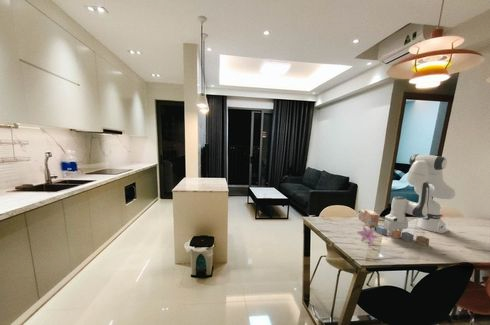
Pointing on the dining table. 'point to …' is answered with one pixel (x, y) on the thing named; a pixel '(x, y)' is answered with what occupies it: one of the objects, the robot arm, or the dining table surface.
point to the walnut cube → (422, 240)
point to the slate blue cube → (381, 230)
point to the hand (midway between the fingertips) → (395, 234)
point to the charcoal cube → (407, 236)
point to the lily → (367, 235)
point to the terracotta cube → (396, 234)
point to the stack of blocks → (369, 218)
